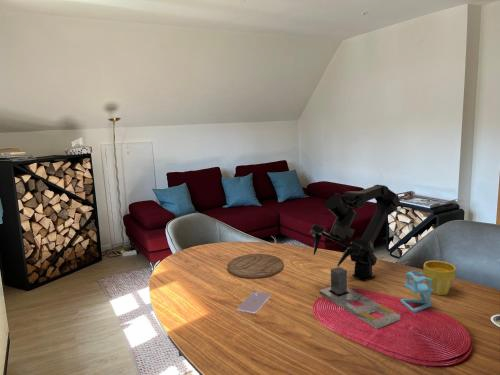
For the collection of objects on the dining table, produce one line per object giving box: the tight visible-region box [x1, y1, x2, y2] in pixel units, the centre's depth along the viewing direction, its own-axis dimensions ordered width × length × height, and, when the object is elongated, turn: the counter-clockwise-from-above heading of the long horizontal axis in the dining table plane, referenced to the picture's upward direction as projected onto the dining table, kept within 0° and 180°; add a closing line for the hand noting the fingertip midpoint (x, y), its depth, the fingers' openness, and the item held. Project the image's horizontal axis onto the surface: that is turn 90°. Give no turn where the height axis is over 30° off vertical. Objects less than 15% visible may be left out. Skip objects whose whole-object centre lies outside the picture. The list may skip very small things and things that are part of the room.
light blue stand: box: [400, 270, 433, 313], centre depth 127 cm, size 8×8×12 cm
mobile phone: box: [236, 290, 272, 314], centre depth 136 cm, size 8×1×15 cm
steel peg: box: [330, 266, 348, 297], centre depth 137 cm, size 4×4×10 cm
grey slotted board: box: [318, 286, 401, 330], centre depth 130 cm, size 10×28×2 cm, turn 28°
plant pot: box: [422, 260, 457, 296], centre depth 137 cm, size 10×10×10 cm
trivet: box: [227, 253, 285, 280], centre depth 168 cm, size 25×25×2 cm
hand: (325, 260), depth 136 cm, fingers open, 9 cm apart
